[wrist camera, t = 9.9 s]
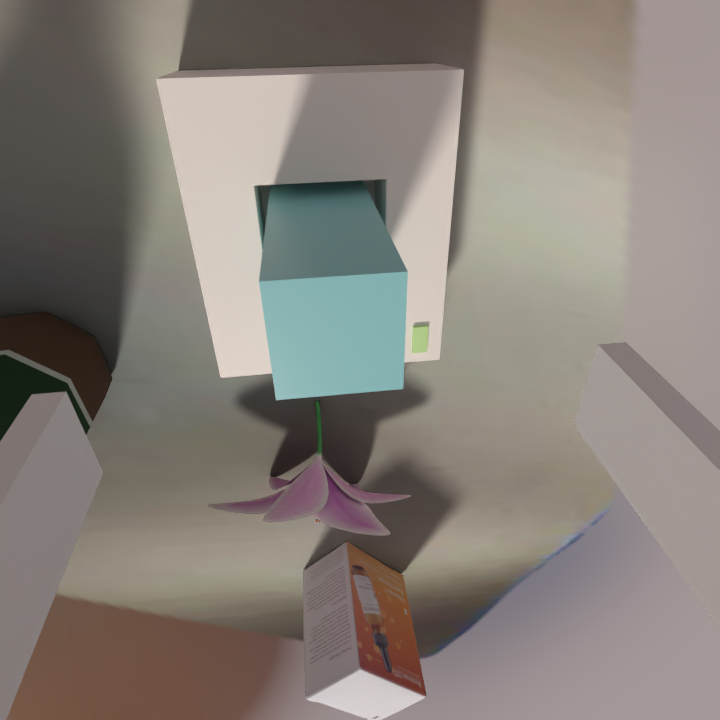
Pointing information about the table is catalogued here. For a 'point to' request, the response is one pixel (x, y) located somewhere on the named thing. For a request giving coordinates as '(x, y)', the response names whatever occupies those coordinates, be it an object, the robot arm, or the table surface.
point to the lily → (318, 499)
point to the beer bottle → (49, 366)
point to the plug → (331, 292)
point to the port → (312, 178)
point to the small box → (359, 636)
